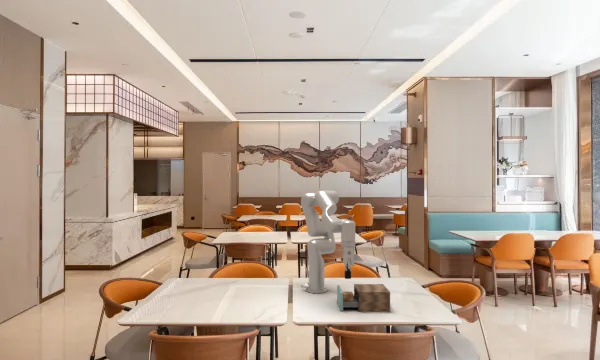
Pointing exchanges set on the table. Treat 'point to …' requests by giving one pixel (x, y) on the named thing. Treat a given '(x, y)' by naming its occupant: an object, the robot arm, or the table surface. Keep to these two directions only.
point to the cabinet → (372, 297)
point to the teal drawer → (346, 304)
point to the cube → (347, 296)
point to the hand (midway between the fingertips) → (347, 278)
